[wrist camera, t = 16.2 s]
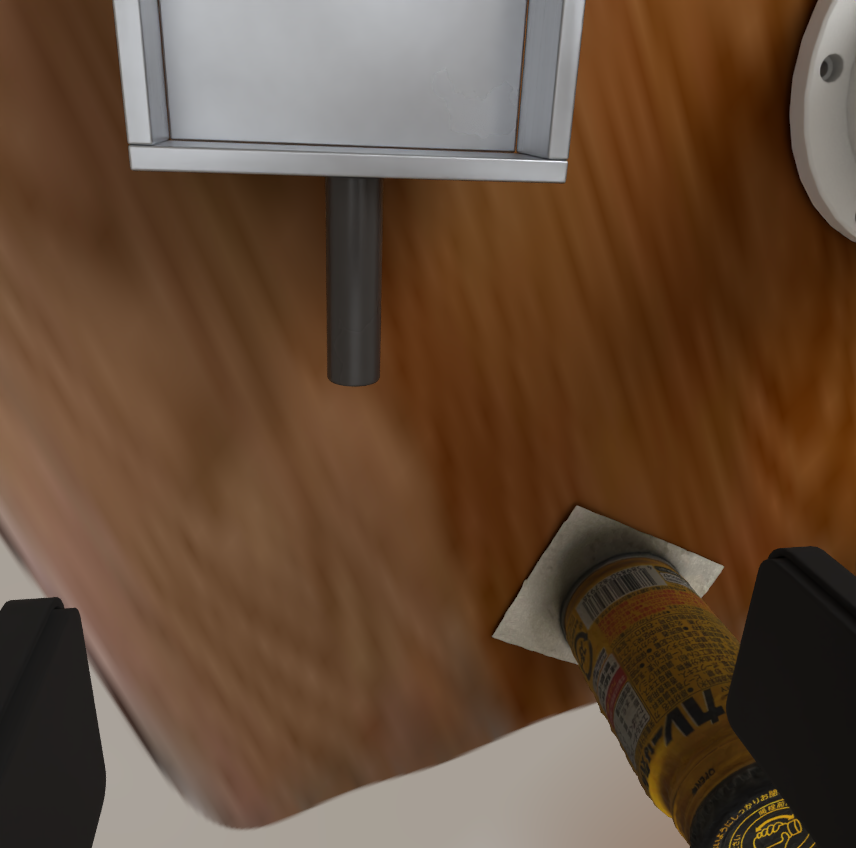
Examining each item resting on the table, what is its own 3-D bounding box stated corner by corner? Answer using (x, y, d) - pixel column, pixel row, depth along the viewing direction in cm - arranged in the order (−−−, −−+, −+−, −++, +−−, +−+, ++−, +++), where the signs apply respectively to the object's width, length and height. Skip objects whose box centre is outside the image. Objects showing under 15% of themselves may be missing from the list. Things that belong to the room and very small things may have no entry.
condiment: (637, 683, 36) (790, 928, 25) (490, 634, 33) (592, 885, 23) (721, 563, 34) (927, 772, 23) (574, 501, 32) (728, 705, 21)
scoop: (565, -258, 19) (622, -331, 16) (510, 355, 26) (543, 391, 22) (107, -323, 17) (66, -422, 14) (171, 360, 24) (154, 400, 20)
